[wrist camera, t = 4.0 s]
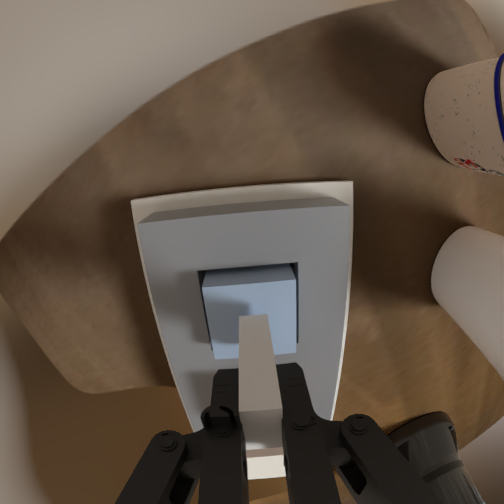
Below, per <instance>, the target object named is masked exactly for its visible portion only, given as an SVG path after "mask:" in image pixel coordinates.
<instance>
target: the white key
mask: <svg viewBox="0 0 504 504" xmlns="http://www.w3.org/2000/svg"><path fill="white" fill-rule="evenodd" d="M246 458H247V467H248V480H249V479H264V478H275V477H284V476H286V473H285V466H284V452H283V447H277V448H267V449H253V450H246Z"/></svg>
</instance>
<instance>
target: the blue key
mask: <svg viewBox="0 0 504 504" xmlns="http://www.w3.org/2000/svg"><path fill="white" fill-rule="evenodd" d="M202 291H203V297H204V303H205V309H206V315H207V320H208V326H209V331H210V336H211V342H212V347H213V352H214V357H215V359H232V358H239V316H248V315H260V314H267V315H268V321H269V327H270V333H271V339H272V346H273V352H274V355H279V354H288V353H296V278H295V276H294V274H293V271H292V269H291V267H290V264H289V263H282V264H271V265H259V266H248V267H236V268H224V269H212V270H206V274H205V278H204V281H203V285H202Z"/></svg>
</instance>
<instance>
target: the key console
mask: <svg viewBox="0 0 504 504" xmlns="http://www.w3.org/2000/svg"><path fill="white" fill-rule="evenodd" d="M131 207H132V214H133V220H134V226H135V231H136V237H137V242H138V247H139V252H140V257H141V262H142V267H143V271H144V276H145V280H146V284H147V289H148V293H149V297H150V301H151V305H152V309H153V312H154V316H155V320H156V324H157V327H158V331H159V334H160V338H161V341H162V344H163V348H164V351H165V354H166V358H167V361H168V364H169V367H170V370H171V373H172V376H173V379H174V382H175V385H176V388H177V390H178V393H179V396H180V398H181V401H182V404H183V407H184V410H185V412H186V415H187V417H188V420H189V422H190V425H191V428H192V430H193V432H197V431H199V430H201V429H202V428H204V427H203V424H202V421H201V418H200V416H201V413H202V411H203V410H204V409H205V408H207V407H209V406H210V405H211V395H212V387H213V386H212V385H213V377H214V375H215V374H216V372H217V371H218V369H235V368H239V358H232V359H215V357H214V352H213V347H212V342H211V336H210V331H209V326H208V320H207V315H206V309H205V303H204V297H203V291H202V285H203V281H204V278H205V274H206V270H212V269H224V268H236V267H248V266H259V265H271V264H282V263H289V264H290V267H291V269H292V271H293V274H294V276H295V278H296V353H288V354H279V355H274V358H275V364H285V363H293V362H296V363H297V364H298V365H299V366H300V367H301V368H302V369H303V372H304V376H305V380H306V383H307V387H308V391H309V395H310V398H311V402H312V406H313V409H314V411H315V413H316V414H317V415H318V416H320V417H321V418H323V419H326V420H330V421H332V420H333V415H334V410H335V404H336V399H337V393H338V387H339V381H340V375H341V368H342V361H343V354H344V346H345V338H346V329H347V319H348V309H349V298H350V284H351V268H352V246H353V181H349V180H346V181H315V182H295V183H278V184H263V185H250V186H238V187H228V188H217V189H208V190H198V191H190V192H181V193H173V194H166V195H158V196H151V197H144V198H137V199H133V200H131Z"/></svg>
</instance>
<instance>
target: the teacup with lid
mask: <svg viewBox="0 0 504 504" xmlns="http://www.w3.org/2000/svg"><path fill="white" fill-rule="evenodd" d="M424 112H425V119H426V124H427V127H428V130H429V133H430V136H431V138H432V140H433V142H434V144H435V146H436V148H437V149H438V151H439V152H440V153H441V154H442V156H443V157H444V158H445V159H446V160H447V161H449V162H450V163H451V164H453V165H455V166H457V167H459V168H463V169H469V170H475V171H480V172H485V173H490V174H495V175H500V176H504V54H502V55H501V56H500V57H498V58H493V59H488V60H484V61H480V62H476V63H471V64H468V65H464V66H460V67H456V68H453V69H449V70H445V71H442V72H440V73H438V74H436V75H435V76H434V77H433V78H432V79H431V81H430V82H429V84H428V86H427V89H426V92H425V98H424Z"/></svg>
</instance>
